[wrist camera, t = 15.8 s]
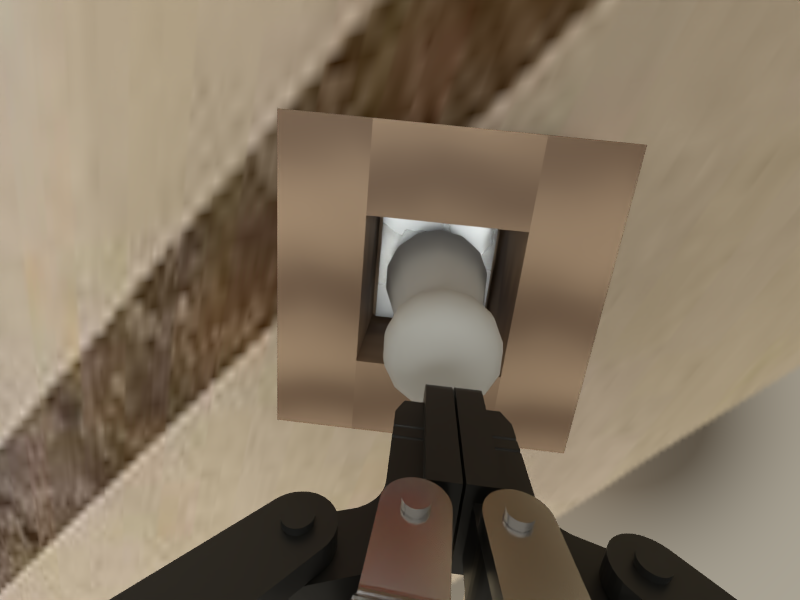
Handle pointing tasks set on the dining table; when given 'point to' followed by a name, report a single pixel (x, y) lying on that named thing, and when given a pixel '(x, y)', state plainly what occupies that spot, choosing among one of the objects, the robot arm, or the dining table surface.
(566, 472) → the dining table surface
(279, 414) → the holder
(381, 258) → the white marbled square plate
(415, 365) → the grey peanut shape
